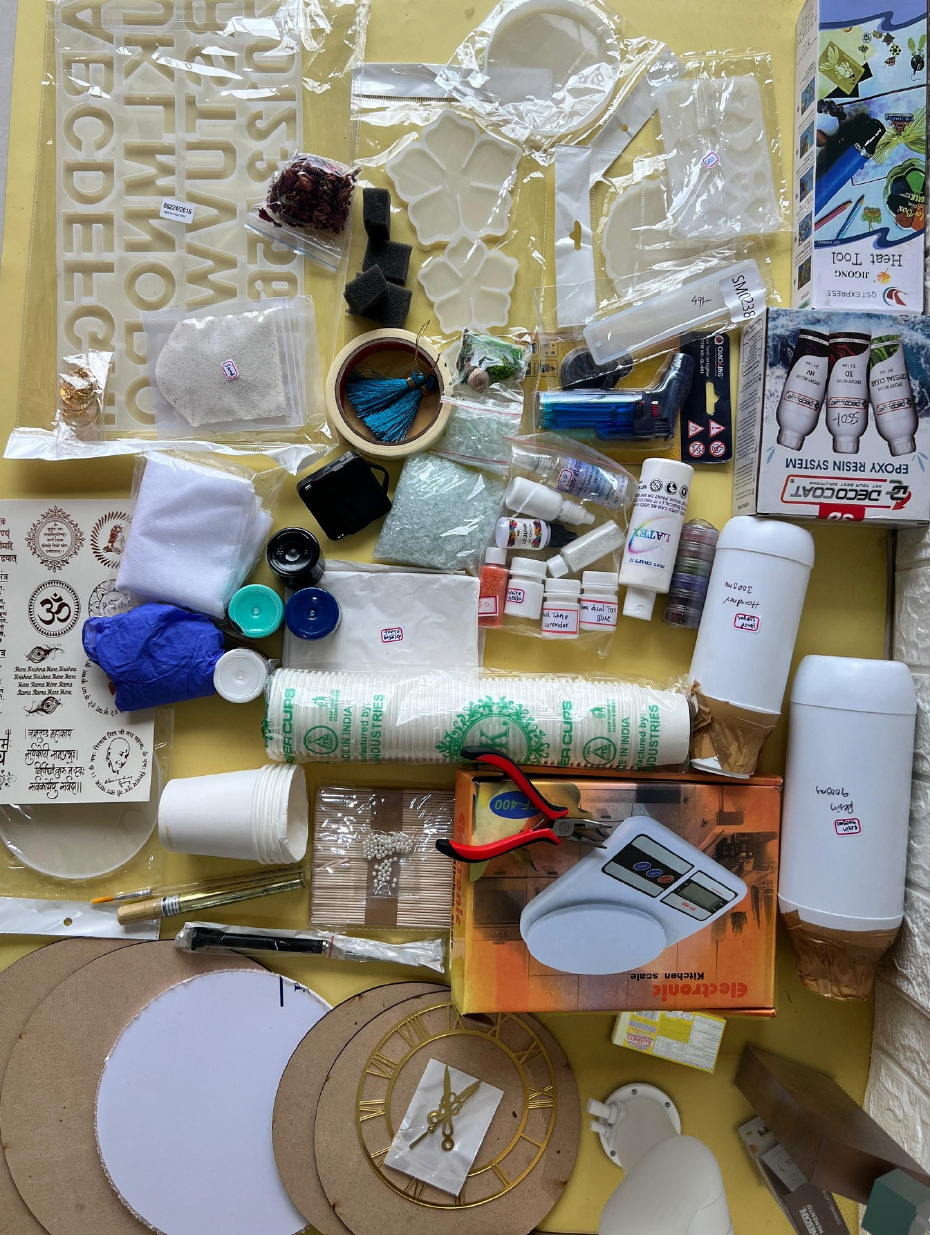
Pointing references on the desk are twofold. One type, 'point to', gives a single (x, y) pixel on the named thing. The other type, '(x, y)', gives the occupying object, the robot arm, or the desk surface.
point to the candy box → (672, 1036)
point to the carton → (897, 1206)
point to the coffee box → (791, 1185)
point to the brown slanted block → (822, 1127)
